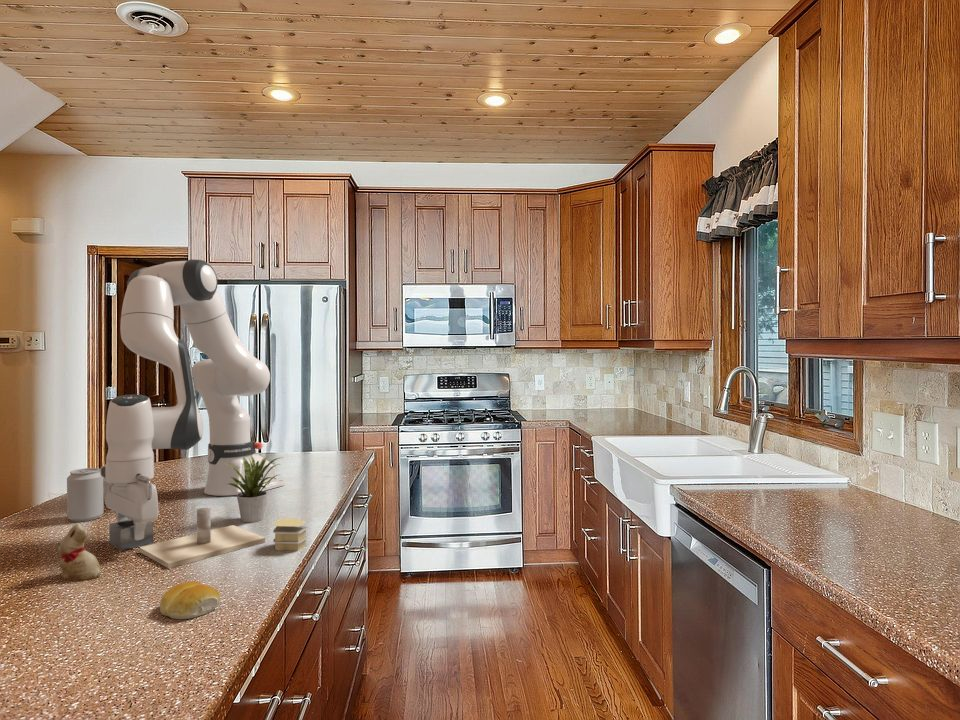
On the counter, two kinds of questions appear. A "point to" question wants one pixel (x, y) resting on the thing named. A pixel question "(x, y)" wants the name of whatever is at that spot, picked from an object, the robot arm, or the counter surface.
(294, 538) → the stacked food containers
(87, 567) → the chocolate bunny
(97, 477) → the can
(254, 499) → the house plant
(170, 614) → the bread roll
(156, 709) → the counter surface
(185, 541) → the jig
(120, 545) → the hollow square tube
